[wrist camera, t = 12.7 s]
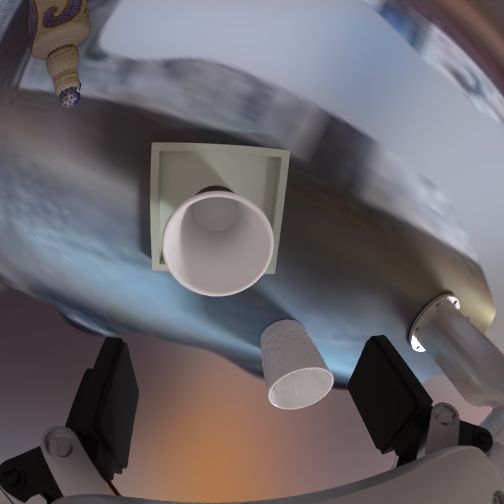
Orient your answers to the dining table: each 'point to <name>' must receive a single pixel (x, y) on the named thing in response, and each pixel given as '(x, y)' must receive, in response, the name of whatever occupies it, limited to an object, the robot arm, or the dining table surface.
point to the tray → (215, 183)
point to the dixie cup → (217, 242)
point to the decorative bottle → (59, 42)
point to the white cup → (293, 366)
